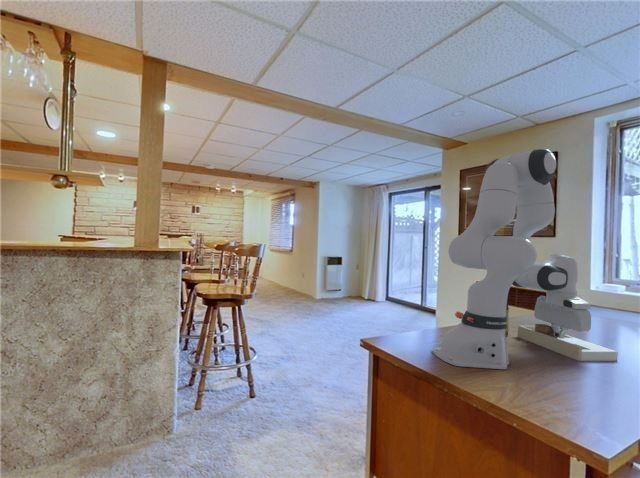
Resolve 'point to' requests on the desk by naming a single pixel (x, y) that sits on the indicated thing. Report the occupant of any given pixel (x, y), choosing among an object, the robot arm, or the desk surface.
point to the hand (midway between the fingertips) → (559, 337)
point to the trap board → (568, 346)
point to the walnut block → (545, 329)
